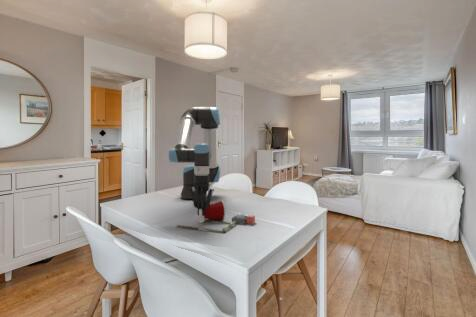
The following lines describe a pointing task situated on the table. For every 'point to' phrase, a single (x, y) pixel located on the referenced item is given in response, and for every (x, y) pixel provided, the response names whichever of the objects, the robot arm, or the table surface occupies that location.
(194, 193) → the robot arm
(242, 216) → the dome
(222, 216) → the plastic cup
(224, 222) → the u-shaped frame
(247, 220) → the dome housing
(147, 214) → the table surface
